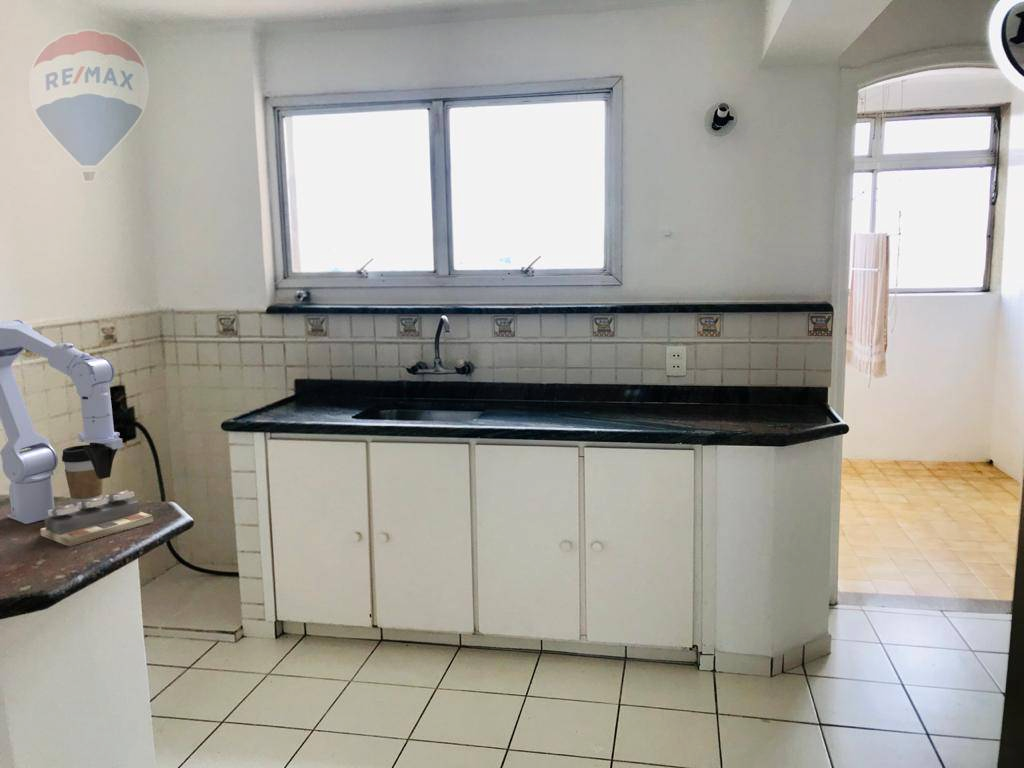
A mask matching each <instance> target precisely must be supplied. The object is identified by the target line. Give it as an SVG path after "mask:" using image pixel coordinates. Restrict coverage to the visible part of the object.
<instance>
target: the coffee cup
mask: <svg viewBox="0 0 1024 768" xmlns="http://www.w3.org/2000/svg"><path fill="white" fill-rule="evenodd" d="M89 445H90V444H82V445H75V446H69V447H66V448H64V449H62V456H61V459H62V460H61V461H62V462H63V464H64V473H65V478H66V482H67V487H68V491H69V495H70V499H71V504H73V505H74V506H77V503H79V502H82V501H86V500H90V499H93V498H97V497H102V498H103V484H104V483H103V480H104V479H99V478H98V477H97V475H96V473H95V470H94V467H93V465H92V462H91V460H90V459H89V457H88V456H87V454H86V453H85V452H84V450H83V448H84V447H87V446H89ZM79 509H80V508H79Z"/></svg>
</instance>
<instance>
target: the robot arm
mask: <svg viewBox="0 0 1024 768" xmlns="http://www.w3.org/2000/svg"><path fill="white" fill-rule="evenodd" d="M24 350H28V351H29V352H32V353H33V354H35V355H39V356H41V357H43V358H45V359H47V363H48V365H49V366H50V367H51V368H53V369H55V370H56V371H58V372H60V373H62V374H64V375H65V376H68V377H70V378H71V381H72V383H73V385H74V386H75V388H76V394H77V395H78V396H79V399H80V400H79V401H80V409H81V417H82V418H81V419H82V428H83V432H78V433H77V436H78V437H77V438H78V442H79V443H83V442H85V443H89V444H88V445H89V446H87V447H84V448H83V450H84V452H85V453H86V454H87V456H88V457H89V459H90V460H91V462H92V465H93V467H94V470H95V473H96V475H97V477H98V478H99V479H103V480H104V479H107V478H108V479H109V478H110V477H111V475H112V469H113V462H114V458H115V457H116V454H117V451H118V450H119V449H122V448H124V444H123V438H120V432H118V431H115V428H114V418H113V417H114V416H113V408H112V400H111V398H112V396H111V389H110V383H111V382H112V381H113V380H114V377H115V369H114V365H113V363H112V362H111V361H110V360H109V359H108V358H106V357H105V356H99V357H93V356H91V354H90V353H89V352H83V351H82V350H79V349H77V348H75V347H74V344H72V343H71V342H65V343H64V342H63V343H62V342H61V343H59V344H57V343H55V342H54V341H52V340H50V339H48V338H47V337H45V336H43V335H42V334H41V333H39V332H37V331H36V330H35V329H33V326H32V325H31V324H30V323H28V322H25V321H23V320H22V319H14V320H9V321H0V422H1V424H2V427H3V429H4V432H5V435H6V438H7V439H8V440H7V442H6V443H5V445H4V446H3V447H2V448H1V450H0V456H1V460H2V463H1V464H2V471H3V474H4V475H5V477H6V478H8V480H10V484H9V488H8V495H9V500H10V501H9V503H10V511H11V513H9V514H7V518H9V519H12V520H14V521H18V522H20V523H23V524H25V525H29V524H32V523H36V522H40V521H45V519H44V518H45V517H49V516H53V515H48V510H52V509H54V508H56V507H55V500H54V498H55V497H54V492H53V491H54V490H53V483H52V476H53V475H54V470H56V469H57V467H58V465H59V457H58V453H57V452H56V450H55V449H54V448H53V447H52V445H51V444H50V441H49V439H48V438H47V437H46V436H44V435H41V434H40V433H38V432H36V430H35V428H34V425H33V421H32V420H31V417H30V415H29V411H28V409H27V406H26V403H25V400H24V398H23V395H22V393H21V390H20V388H19V385H18V382H17V379H16V377H15V373H14V371H13V369H12V368H13V367H12V365H13V363H14V361H15V360H17V359H18V358H19V356H20V355H21V354H22V353H23V352H24Z"/></svg>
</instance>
